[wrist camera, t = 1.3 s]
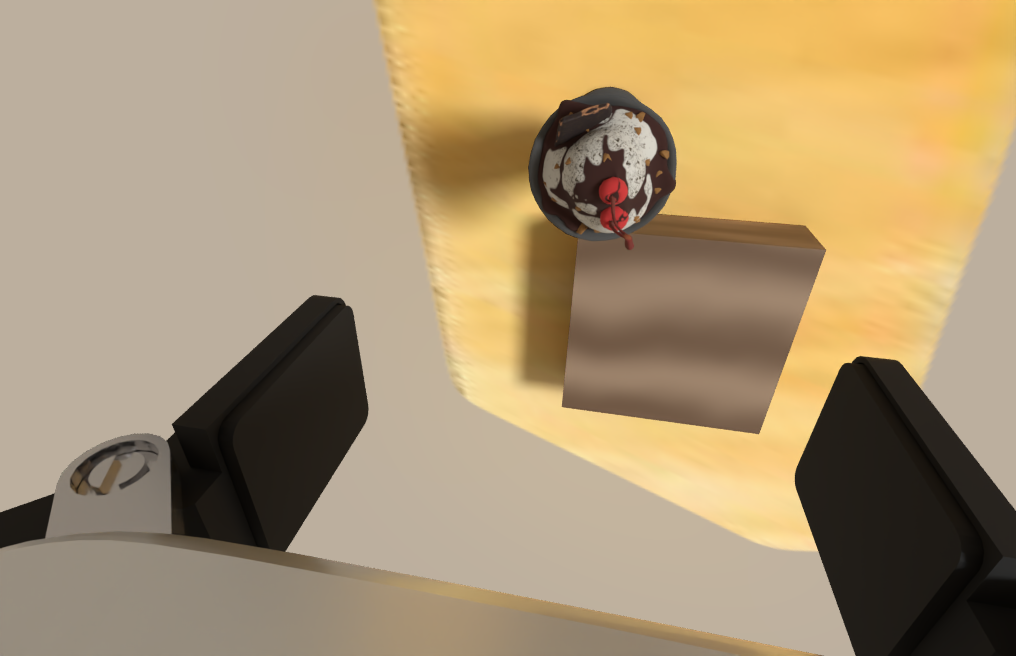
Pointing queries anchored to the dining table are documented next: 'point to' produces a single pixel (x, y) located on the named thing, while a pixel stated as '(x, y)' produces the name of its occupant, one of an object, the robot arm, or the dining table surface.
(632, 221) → the sundae
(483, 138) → the dining table surface
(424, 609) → the robot arm
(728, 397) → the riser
